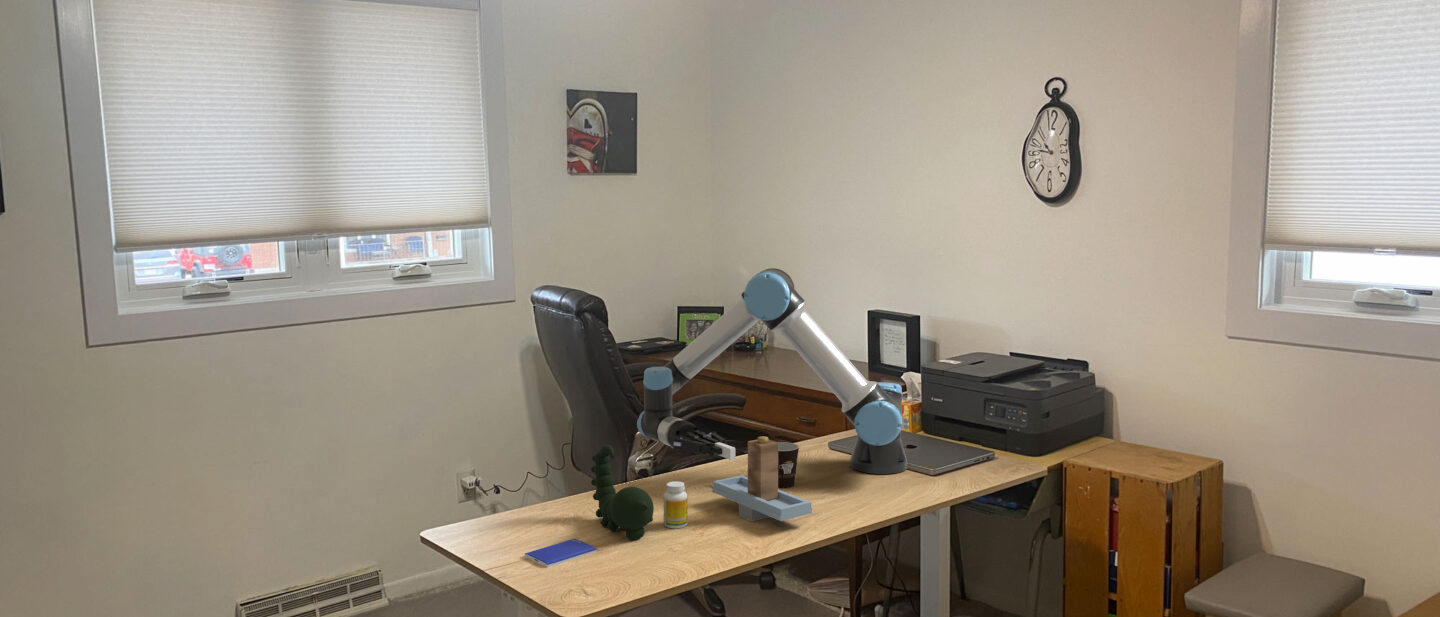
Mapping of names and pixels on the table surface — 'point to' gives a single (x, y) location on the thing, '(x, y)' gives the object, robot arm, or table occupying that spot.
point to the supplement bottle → (675, 505)
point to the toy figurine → (619, 500)
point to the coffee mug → (787, 464)
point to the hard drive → (561, 552)
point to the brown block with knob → (763, 468)
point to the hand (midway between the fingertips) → (732, 453)
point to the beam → (761, 501)
